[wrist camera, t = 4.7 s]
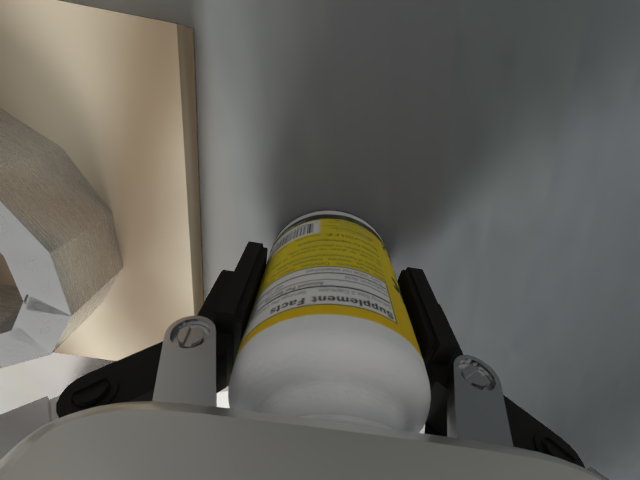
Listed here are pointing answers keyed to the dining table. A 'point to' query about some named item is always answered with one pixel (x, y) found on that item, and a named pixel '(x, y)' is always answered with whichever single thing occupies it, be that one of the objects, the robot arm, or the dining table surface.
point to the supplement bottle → (331, 332)
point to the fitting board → (117, 152)
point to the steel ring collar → (49, 244)
